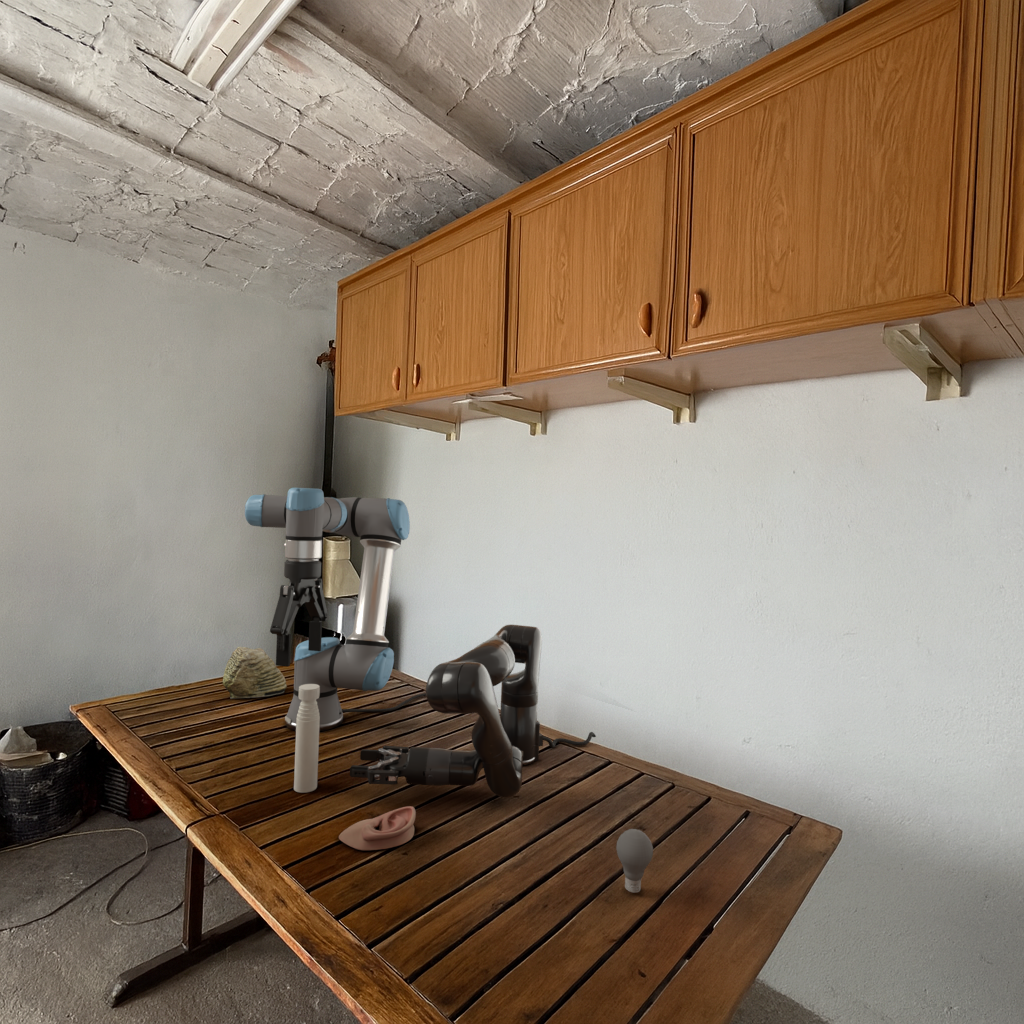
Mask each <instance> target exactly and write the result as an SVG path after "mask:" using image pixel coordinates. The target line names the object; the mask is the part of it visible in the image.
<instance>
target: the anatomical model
mask: <svg viewBox="0 0 1024 1024" xmlns="http://www.w3.org/2000/svg"><path fill="white" fill-rule="evenodd" d="M416 816H417V812H416V809H415V807H414V806H413V805H412V806H410V805H407V806H403V807H399V808H395V809H393V810H390V811H388V812H385V813H383V814H380V815H378V816H376V817H373V818H367V819H363V820H360V821H356V822H354V824H351V825H350V826H348V827H346V828H345V829H344V830H343V831H342V832H341V833H340V834H339V835H338V839H339V840H340V841H341V842H342V843H344V844H345V845H347V846H349V847H351V848H353V849H355V850H359V851H378V850H386V849H391V848H395V847H398V846H401V845H404V844H405V843H407V842H409V841H410V840H412V839H413V837H414V835H415V826H414V823H415V821H416Z"/></svg>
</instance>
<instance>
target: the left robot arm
mask: <svg viewBox="0 0 1024 1024" xmlns="http://www.w3.org/2000/svg"><path fill="white" fill-rule="evenodd" d="M244 518H245V520H246V522H247V523H248V525H250V526H251V527H260V528H276V529H277V528H279V529H283V528H284V529H285V543H284V547H285V548H284V549H285V550H284V557H285V559H286V560H285V561H284V566H283V567H284V568H283V576H284V578H285V579H289V584H287V585H285V584H281V585H280V588H279V597H278V600H277V604H276V607H275V611H274V614H273V618H272V622H271V625H270V629H269V632H270V633H271V634H272V635H276V646H275V648H276V649H275V651H276V652H275V665H276V667H290V666H291V647H292V646H291V645H292V634H291V633H290V631H291V628H292V626H293V623H294V621H295V618H296V615H297V613H298V611H299V609H300V608H301V607H303V604H304V606H305V607H306V610H307V612H308V615H309V617H310V619H311V620H309V621H308V639H307V640H304V641H302V642H299V643H298V644H297V645H296V647H295V652H294V653H295V654H294V659H293V661H294V672H293V695H292V696H293V697H292V699H291V702H290V704H289V708H288V711H287V713H286V715H285V716H284V721H285V726H286V728H287V729H289V730H291V731H294V732H296V718H297V714H298V710H299V706H300V703H301V701H302V700H300V699H299V697H298V695H299V686H301V685H304V684H317V685H319V686H320V696H319V698H318V699H316V702H317V705H318V709H319V716H320V725H319V732H325V731H329V730H332V729H335V728H337V727H339V726H340V725H342V723H343V722H344V713H386V712H392V711H395V710H398V709H400V708H401V707H402V706H404V705H406V704H408V703H410V702H411V701H413V700H415V699H417V698H421V697H426V692H423V693H419V694H416V695H413V696H410V697H409V698H407V699H405V700H403V701H402V702H401V703H398V704H397V705H396V706H393V707H388V708H342V706H341V702H340V699H339V695H338V689H345V690H356V691H363V692H368V691H370V692H377V691H381V690H382V689H383V688H384V687H385V686H386V685H387V684H388V682H389V680H390V677H391V675H392V672H393V668H394V663H395V657H394V656H395V652H394V650H393V649H392V648H391V647H389V644H390V641H389V639H387V637H386V636H385V631H386V624H387V623H386V622H387V615H388V609H389V608H388V607H389V606H388V605H389V601H390V600H389V598H390V591H391V584H392V583H391V582H392V574H393V566H394V561H395V560H394V559H395V552H396V551H397V550H398V549H400V548H401V547H402V545H401V544H402V541H405V540H407V539H408V538H409V535H410V529H411V524H410V523H411V521H410V515H409V510H408V507H407V505H406V503H405V502H404V501H402V500H401V499H397V498H396V499H395V498H390V497H385V498H383V497H382V498H380V497H359V496H353V497H341V498H336V497H333V496H325V495H324V491H323V490H322V489H321V488H311V487H310V488H309V487H291V488H289V489H288V490H287V495H279V494H276V495H275V494H264V493H263V494H253V495H251V496H249V497H248V499H247V500H246V502H245V505H244ZM323 532H325V533H332V534H337V535H343V536H347V537H355V538H359V543H360V544H361V546H362V547H363V556H362V563H361V570H360V571H361V572H360V577H359V586H358V592H357V601H356V606H355V607H356V608H355V615H354V622H353V629H352V633H351V634H350V635H348V636H347V637H346V638H345V639H346V640H345V644H341V641H340V639H339V638H338V637H334V636H325V637H323V635H322V634H323V622H327V620H328V609H327V604H326V599H325V594H324V590H323V579H322V578H321V576H322V561H321V560H320V559H322V557H323Z"/></svg>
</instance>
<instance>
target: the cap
mask: <svg viewBox="0 0 1024 1024" xmlns="http://www.w3.org/2000/svg"><path fill="white" fill-rule="evenodd" d="M319 696H320V686H319V685H317V684H304V685H301V686H299V695H298V697H299V699H300V700H305V701H309V700H315V699H318V698H319Z"/></svg>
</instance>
